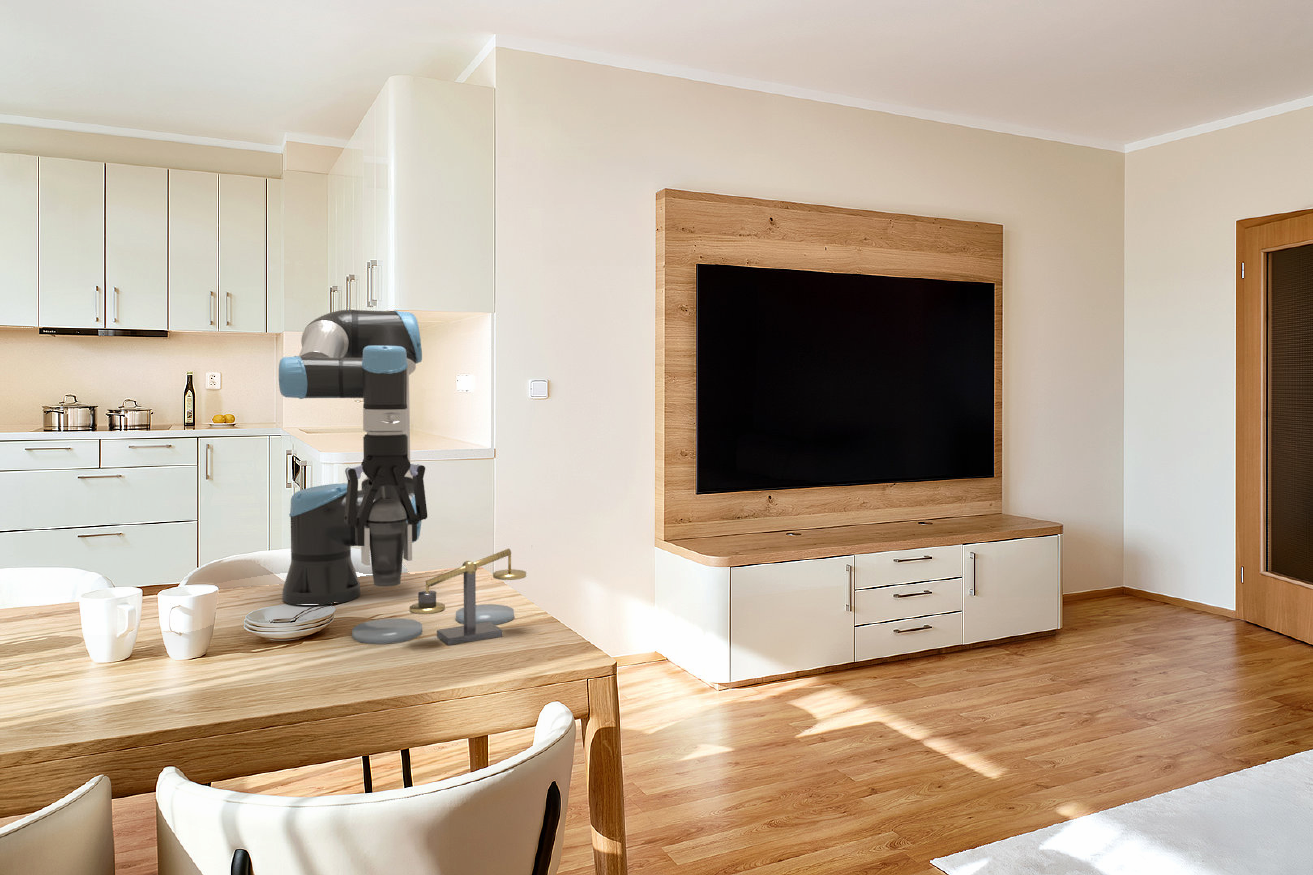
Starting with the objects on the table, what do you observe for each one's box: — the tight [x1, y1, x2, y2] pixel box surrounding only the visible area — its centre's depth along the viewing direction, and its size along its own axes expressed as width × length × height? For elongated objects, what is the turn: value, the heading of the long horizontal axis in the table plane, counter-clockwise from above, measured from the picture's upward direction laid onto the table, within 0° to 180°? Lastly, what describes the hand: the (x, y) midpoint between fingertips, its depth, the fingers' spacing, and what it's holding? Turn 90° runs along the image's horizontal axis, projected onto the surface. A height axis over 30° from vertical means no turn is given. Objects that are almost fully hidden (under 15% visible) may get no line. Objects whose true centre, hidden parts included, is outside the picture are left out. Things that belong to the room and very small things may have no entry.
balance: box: [409, 548, 527, 646], centre depth 157 cm, size 6×21×15 cm, turn 123°
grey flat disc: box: [351, 617, 423, 645], centre depth 159 cm, size 12×12×1 cm
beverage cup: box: [366, 486, 408, 588], centre depth 157 cm, size 7×7×20 cm
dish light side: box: [455, 603, 515, 626], centre depth 170 cm, size 11×11×1 cm
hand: (386, 561), depth 158 cm, fingers closed on beverage cup, 7 cm apart
